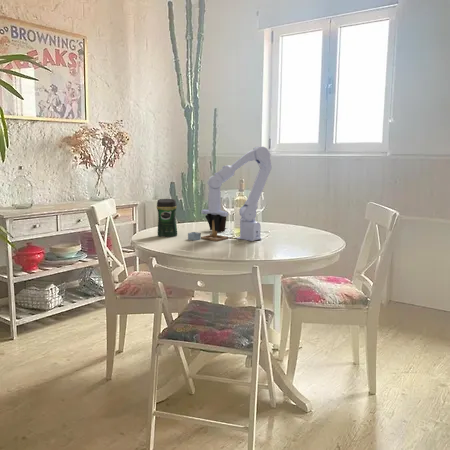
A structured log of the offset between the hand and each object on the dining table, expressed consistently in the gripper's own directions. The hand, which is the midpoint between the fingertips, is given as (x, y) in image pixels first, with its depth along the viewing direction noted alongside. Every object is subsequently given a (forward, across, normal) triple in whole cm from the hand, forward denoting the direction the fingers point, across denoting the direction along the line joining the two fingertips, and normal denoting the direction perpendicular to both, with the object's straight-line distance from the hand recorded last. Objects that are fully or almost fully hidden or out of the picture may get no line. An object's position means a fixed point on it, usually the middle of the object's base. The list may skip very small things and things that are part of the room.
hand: (214, 230), depth 228 cm
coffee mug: (+5, -16, +22) cm, 27 cm away
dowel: (+3, 0, 0) cm, 3 cm away
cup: (+5, -6, -7) cm, 11 cm away
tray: (+5, 0, 0) cm, 5 cm away
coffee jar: (+5, -24, -8) cm, 25 cm away
